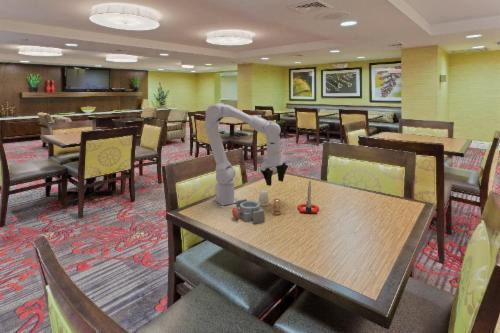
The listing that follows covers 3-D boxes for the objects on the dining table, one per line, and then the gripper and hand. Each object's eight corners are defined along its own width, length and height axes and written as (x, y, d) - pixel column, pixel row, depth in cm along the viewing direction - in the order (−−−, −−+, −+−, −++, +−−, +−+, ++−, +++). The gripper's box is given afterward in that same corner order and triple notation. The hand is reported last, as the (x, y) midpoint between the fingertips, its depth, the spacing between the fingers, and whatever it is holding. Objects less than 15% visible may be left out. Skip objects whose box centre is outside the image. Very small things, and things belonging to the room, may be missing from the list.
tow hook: (297, 205, 143) (297, 213, 133) (298, 175, 140) (298, 180, 131) (318, 207, 142) (319, 214, 132) (319, 176, 139) (321, 181, 129)
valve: (226, 213, 134) (226, 202, 132) (249, 208, 139) (249, 197, 138) (243, 226, 121) (243, 214, 120) (268, 220, 126) (268, 208, 125)
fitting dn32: (271, 212, 134) (271, 199, 133) (277, 211, 136) (278, 197, 134) (275, 215, 131) (275, 201, 130) (282, 214, 133) (282, 200, 131)
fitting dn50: (256, 203, 145) (256, 190, 143) (265, 201, 147) (265, 189, 146) (261, 206, 141) (261, 193, 139) (270, 204, 143) (271, 191, 142)
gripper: (268, 156, 128) (270, 189, 132) (292, 150, 138) (292, 180, 141) (256, 154, 133) (258, 185, 137) (279, 148, 143) (280, 178, 146)
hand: (274, 183), depth 139 cm, fingers open, 7 cm apart
